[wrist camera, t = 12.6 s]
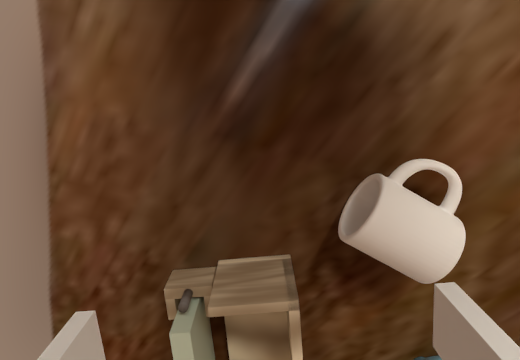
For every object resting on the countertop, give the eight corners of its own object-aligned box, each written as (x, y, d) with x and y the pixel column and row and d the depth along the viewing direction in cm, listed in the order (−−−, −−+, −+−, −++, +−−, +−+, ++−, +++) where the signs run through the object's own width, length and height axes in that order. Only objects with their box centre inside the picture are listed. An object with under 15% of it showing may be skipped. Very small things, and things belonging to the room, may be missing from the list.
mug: (402, 262, 46) (431, 299, 38) (331, 224, 44) (346, 253, 37) (462, 177, 43) (507, 197, 35) (389, 134, 42) (418, 145, 34)
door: (180, 282, 46) (158, 334, 36) (204, 280, 46) (190, 332, 36) (194, 377, 49) (178, 448, 40) (217, 375, 49) (207, 446, 40)
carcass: (171, 263, 45) (148, 312, 36) (290, 254, 45) (298, 300, 35) (192, 396, 50) (176, 472, 40) (300, 389, 50) (310, 462, 40)
